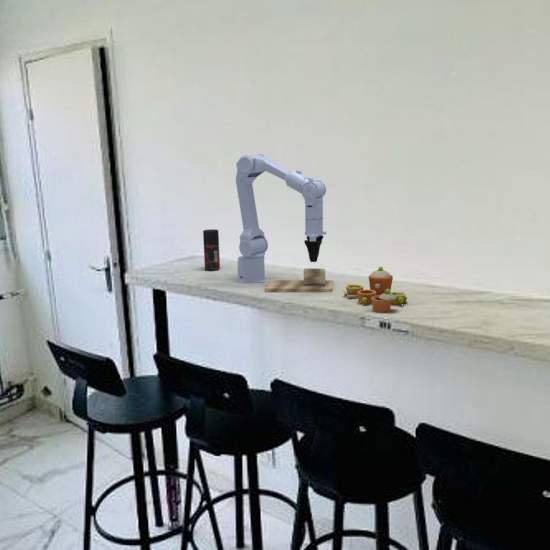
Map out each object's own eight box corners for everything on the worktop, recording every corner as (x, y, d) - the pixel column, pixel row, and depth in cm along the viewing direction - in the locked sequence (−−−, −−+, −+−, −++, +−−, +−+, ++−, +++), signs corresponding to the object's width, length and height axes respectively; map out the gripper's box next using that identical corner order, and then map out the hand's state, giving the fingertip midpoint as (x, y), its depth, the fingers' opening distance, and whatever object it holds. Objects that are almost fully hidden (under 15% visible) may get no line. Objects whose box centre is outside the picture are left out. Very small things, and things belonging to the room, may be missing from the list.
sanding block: (303, 285, 199) (303, 271, 198) (304, 282, 203) (304, 268, 202) (324, 285, 198) (324, 271, 197) (325, 283, 202) (325, 268, 201)
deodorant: (210, 266, 240) (209, 229, 237) (223, 267, 237) (221, 229, 234) (201, 269, 235) (199, 231, 232) (214, 270, 232) (212, 232, 229)
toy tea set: (338, 295, 192) (338, 266, 189) (382, 291, 196) (383, 262, 194) (373, 318, 167) (373, 284, 165) (423, 312, 171) (424, 279, 169)
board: (264, 291, 197) (264, 288, 197) (269, 283, 209) (269, 280, 209) (332, 292, 194) (332, 288, 194) (333, 283, 206) (333, 280, 206)
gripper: (325, 221, 188) (325, 264, 191) (327, 215, 202) (327, 255, 205) (302, 221, 189) (303, 263, 192) (306, 215, 203) (306, 255, 206)
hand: (314, 259), depth 199 cm, fingers open, 7 cm apart
